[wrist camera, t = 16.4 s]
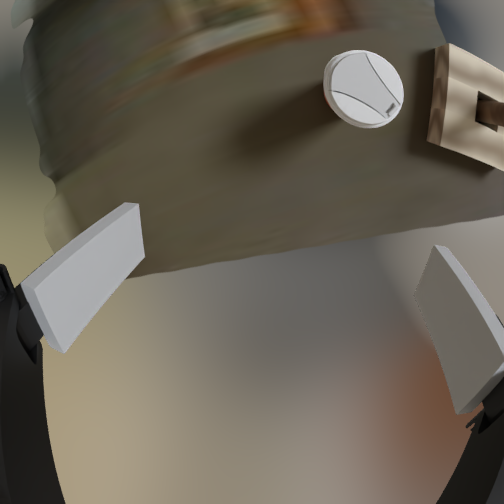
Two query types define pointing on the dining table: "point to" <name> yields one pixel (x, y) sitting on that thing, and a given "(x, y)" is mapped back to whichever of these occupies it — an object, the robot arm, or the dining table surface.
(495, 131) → the maple block
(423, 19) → the dining table surface
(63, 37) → the dining table surface
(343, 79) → the coffee cup
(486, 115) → the walnut peg
